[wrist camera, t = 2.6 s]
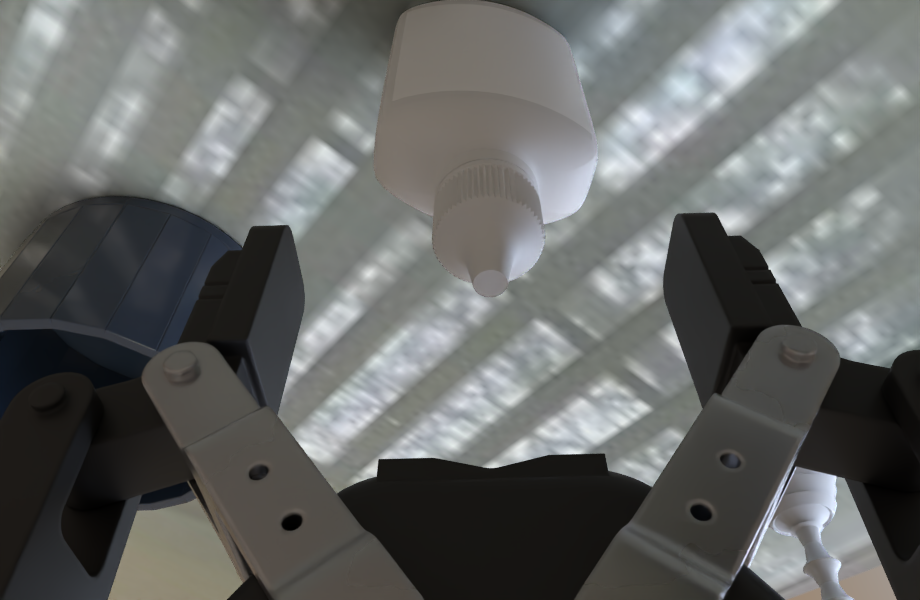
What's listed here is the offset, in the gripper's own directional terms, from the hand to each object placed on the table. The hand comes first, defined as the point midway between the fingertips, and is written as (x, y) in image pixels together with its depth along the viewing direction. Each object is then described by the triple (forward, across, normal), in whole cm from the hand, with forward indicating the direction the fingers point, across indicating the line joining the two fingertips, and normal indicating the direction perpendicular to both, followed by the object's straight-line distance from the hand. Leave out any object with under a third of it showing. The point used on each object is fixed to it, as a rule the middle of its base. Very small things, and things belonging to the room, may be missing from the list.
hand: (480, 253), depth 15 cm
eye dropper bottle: (+11, 0, 0) cm, 11 cm away
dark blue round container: (+11, +14, +10) cm, 20 cm away
